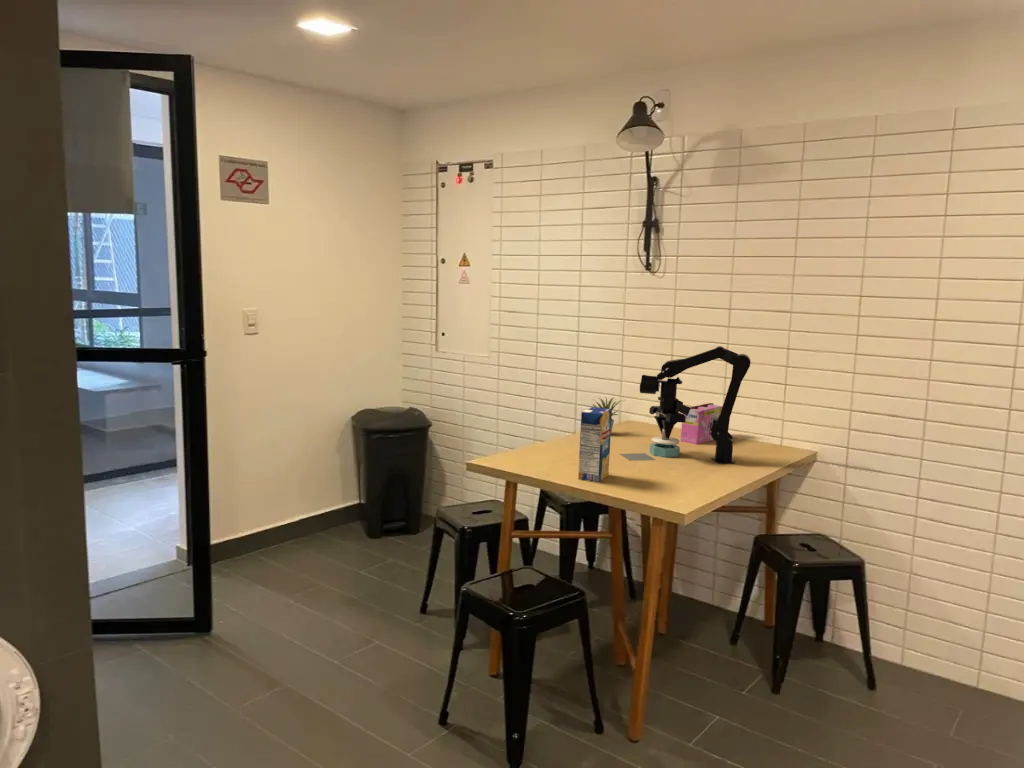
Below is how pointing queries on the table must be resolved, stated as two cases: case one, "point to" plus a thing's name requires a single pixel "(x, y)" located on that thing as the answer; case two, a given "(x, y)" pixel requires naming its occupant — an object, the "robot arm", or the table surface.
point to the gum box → (699, 423)
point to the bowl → (664, 450)
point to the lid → (665, 439)
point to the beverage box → (595, 444)
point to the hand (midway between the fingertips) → (665, 437)
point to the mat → (637, 456)
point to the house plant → (608, 407)
